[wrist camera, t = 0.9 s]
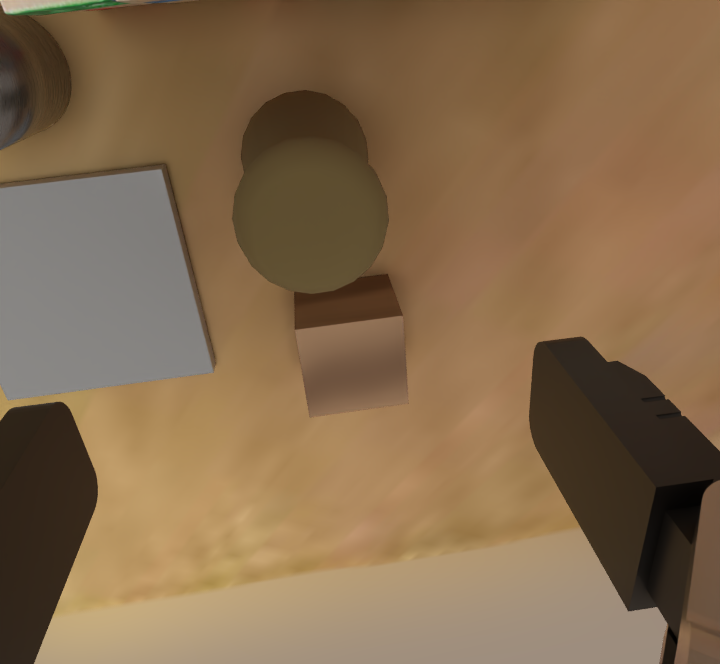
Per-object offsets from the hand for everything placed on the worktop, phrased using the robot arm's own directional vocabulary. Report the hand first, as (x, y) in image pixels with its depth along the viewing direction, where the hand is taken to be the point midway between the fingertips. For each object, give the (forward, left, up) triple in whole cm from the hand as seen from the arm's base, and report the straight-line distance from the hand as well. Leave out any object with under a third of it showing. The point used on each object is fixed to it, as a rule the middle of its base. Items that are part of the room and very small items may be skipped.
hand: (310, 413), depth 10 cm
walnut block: (+9, +1, -20) cm, 22 cm away
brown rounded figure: (0, 0, -20) cm, 20 cm away
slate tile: (+5, -12, -20) cm, 24 cm away
